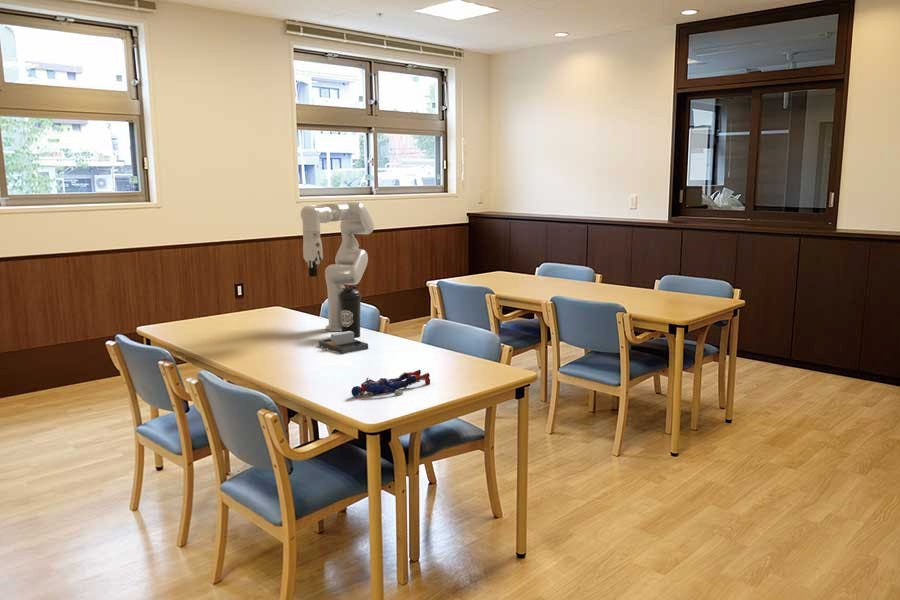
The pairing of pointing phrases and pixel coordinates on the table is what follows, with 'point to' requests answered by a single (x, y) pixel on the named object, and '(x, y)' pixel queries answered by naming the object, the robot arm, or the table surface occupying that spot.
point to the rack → (344, 346)
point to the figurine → (390, 384)
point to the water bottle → (350, 310)
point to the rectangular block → (342, 337)
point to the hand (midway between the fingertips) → (313, 276)
